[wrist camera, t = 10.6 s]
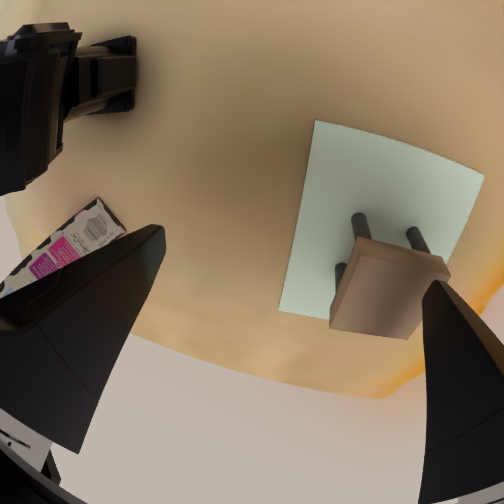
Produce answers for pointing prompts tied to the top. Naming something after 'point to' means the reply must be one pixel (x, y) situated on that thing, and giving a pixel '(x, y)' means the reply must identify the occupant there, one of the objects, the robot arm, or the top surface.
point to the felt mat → (370, 206)
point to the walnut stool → (383, 284)
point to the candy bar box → (66, 245)
